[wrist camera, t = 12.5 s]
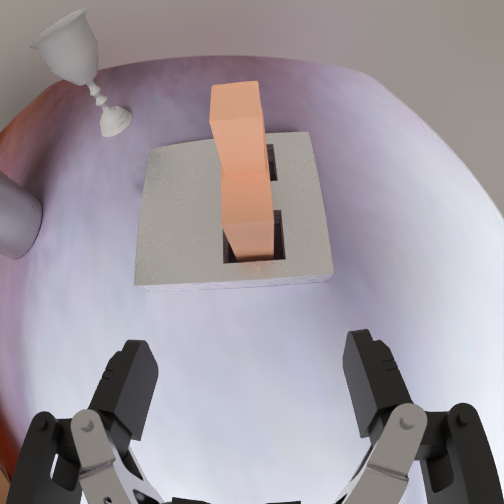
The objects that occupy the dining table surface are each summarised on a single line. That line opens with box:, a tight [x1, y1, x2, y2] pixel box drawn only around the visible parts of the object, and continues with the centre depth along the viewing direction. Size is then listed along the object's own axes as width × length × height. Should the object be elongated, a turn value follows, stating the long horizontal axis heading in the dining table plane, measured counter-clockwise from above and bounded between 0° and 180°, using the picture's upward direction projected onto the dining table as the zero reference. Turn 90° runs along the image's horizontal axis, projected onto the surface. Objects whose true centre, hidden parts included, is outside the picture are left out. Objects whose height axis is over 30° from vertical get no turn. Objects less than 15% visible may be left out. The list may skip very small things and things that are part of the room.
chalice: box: [30, 8, 132, 137], centre depth 23 cm, size 7×7×18 cm
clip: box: [209, 81, 274, 263], centre depth 19 cm, size 3×10×14 cm, turn 3°
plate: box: [134, 132, 334, 292], centre depth 24 cm, size 16×14×3 cm
